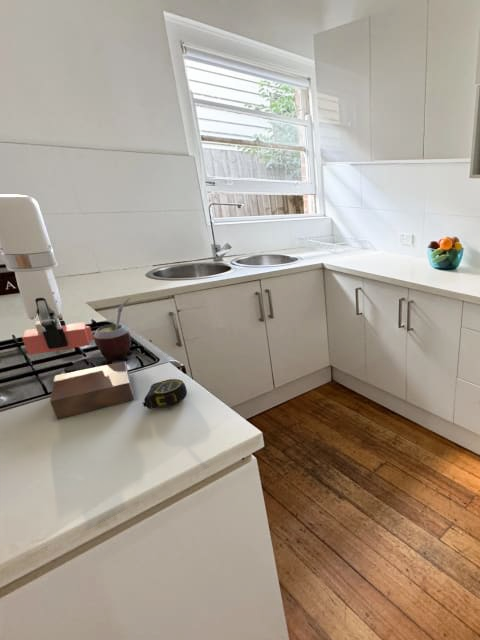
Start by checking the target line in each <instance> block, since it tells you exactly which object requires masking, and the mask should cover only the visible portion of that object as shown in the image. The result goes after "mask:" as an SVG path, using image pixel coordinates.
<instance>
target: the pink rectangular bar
mask: <svg viewBox="0 0 480 640" xmlns="http://www.w3.org/2000/svg"><path fill="white" fill-rule="evenodd" d="M52 320H53V321H54V319H51V321H52ZM58 320H59V318H58ZM54 322H55V321H54ZM59 323H60V321H59ZM34 326H35V328H33V329H25V330H24V331H23V334H22V336H21V339H22V342H23V345H24V347H25V349H26V353H27V354H28V356H31V355H37V354H43V353H48V352H49V353H50V352H56V351H62V350H70V349H75V348H80V347H81V348H82V347H87V346H90V343H91V342H90V341H93V340H94V334H93V332H92V329H91V326H90V325H86V322H84V321H83V322H75V323H70V324H69V323H68V324H66V325H61V324H60V327H61V329H62V328H63V330H64V333H65V336H66V339H67V342H68V346H66V347H60V348H54V349H49V348H48V346H47V343H46V340H45V338H44V335H43V330H42V327H41V323H40V320H36V321H35V324H34Z"/></svg>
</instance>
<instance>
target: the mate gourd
mask: <svg viewBox="0 0 480 640" xmlns="http://www.w3.org/2000/svg"><path fill="white" fill-rule="evenodd" d="M130 300H131V298H130V297H129V298H128V299H126V300H125V301H123V302H122V303H121V304H120V305H119V306H118V308H117V316H116V324H108V325H104V326H103V325H102V326H100V327H99V328H97V329H96V330H95V332H94V334H93V338H94V339H93V340H94V344H95V346H96V347H97V349H98V350H99V352H100V354H101V355H102V357H103V358H104V359H105V360H104V363H106V364H110V363H111V362H114V361H116V360H122V361H129V359H130V358H129V357H128V356H129V355H131V354H133V352H132V350H131V349H130V348H131V345H132V336H131V333H130V331H129V329H128V328H126V327H125V326H124V325H122V324H120V321H121V316H122V312H123V308H124V306H125V305H126V304H127V303H128V302H129V301H130Z"/></svg>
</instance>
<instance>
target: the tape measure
mask: <svg viewBox="0 0 480 640" xmlns="http://www.w3.org/2000/svg"><path fill="white" fill-rule="evenodd" d="M187 394H188V389H187V387H186V384H185V382H184V381H183V380H182V379H177V378H169V379H165V380H162V381H158V382H156V383H155V382H154V383H153V384H151V386H150V387H149V390H148V392H147V394H146V396H144V399H143V402H141V404H142V406H143V407H145V408H147V409H149V410H152V409H156V408H165V407H171V406H174V405H176V404H179V403H181V402H182V401H183V400H184V399H186V397H187Z"/></svg>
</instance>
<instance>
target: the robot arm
mask: <svg viewBox="0 0 480 640" xmlns="http://www.w3.org/2000/svg"><path fill="white" fill-rule="evenodd" d="M45 223H46V222H45V220H44V218H43V215H42V211H41V209H40V205H39V203H38V201H37V200H36V199H35V198H33V197H32V196H29V195H25V194H0V254H1V256H2V259H3V262H4V264H5V267H6V270H7V271H9V272H14V276H15V279H16V283H17V287H18V290H19V291H18V292H19V294H20V296H21V297H20V298H21V300H22V303H23V306H24V310H25V313H26V316H27V318H28V319H29V320H31V321H32V320H34V319H35V318H37V316H38V321H40V323H41V327H42V330H43V335H44V338H45V340H46V343H47V346H48V348H49V349H54V348H60V347H66V346H68V342H67V339H66V336H65V333H64V330H63V328H62V329H61V327H60V324H61V325H67V324H66V322H65V320H64V318H63V315H62V313H61V312H62V308H63V304H62V298H61V294H60V291H59V288H58V284H57V281H56V278H55V275H54V272H53V269H54V268H57V267H58V266H59V265H58V261H57V258H56V255H55V252H54V249H53V246H52V242H51V240H50V235H49V233H48V229H47V227H46V224H45ZM58 318H59V320H58ZM51 319H54V321H55V322H54V321H53V320H52V321H51ZM59 321H60V323H59Z"/></svg>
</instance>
